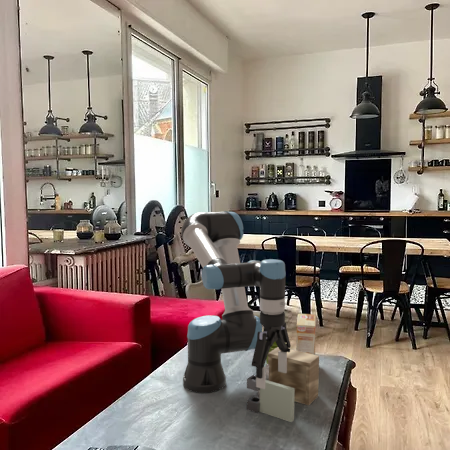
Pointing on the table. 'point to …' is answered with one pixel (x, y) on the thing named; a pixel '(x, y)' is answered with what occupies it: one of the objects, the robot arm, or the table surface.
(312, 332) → the coffeecake box
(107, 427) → the table surface
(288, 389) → the square frame paddle
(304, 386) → the cabinet
